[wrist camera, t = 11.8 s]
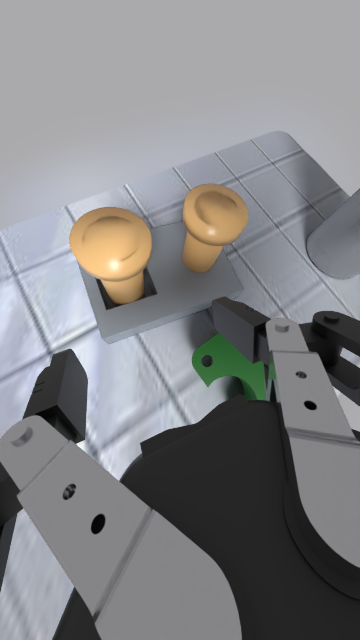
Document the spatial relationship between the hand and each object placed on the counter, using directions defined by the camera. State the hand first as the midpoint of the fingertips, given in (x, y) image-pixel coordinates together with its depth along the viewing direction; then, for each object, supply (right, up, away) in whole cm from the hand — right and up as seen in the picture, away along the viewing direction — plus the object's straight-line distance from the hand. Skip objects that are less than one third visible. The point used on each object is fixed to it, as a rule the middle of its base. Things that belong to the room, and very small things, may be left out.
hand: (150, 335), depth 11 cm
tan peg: (-5, +4, +12) cm, 14 cm away
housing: (-1, +6, +14) cm, 15 cm away
